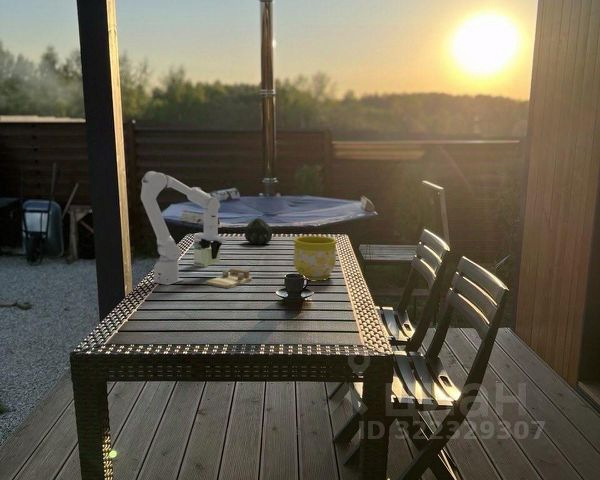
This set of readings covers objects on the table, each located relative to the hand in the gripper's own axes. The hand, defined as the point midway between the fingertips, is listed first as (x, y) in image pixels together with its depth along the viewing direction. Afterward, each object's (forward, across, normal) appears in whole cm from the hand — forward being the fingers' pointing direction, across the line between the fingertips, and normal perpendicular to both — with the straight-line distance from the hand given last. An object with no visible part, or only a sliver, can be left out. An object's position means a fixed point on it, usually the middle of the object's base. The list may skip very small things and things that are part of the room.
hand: (210, 258), depth 244 cm
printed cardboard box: (+8, +16, -14) cm, 23 cm away
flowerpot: (+8, -36, -24) cm, 44 cm away
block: (+2, 0, 0) cm, 2 cm away
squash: (+8, +26, -73) cm, 78 cm away
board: (+8, -12, +3) cm, 15 cm away
